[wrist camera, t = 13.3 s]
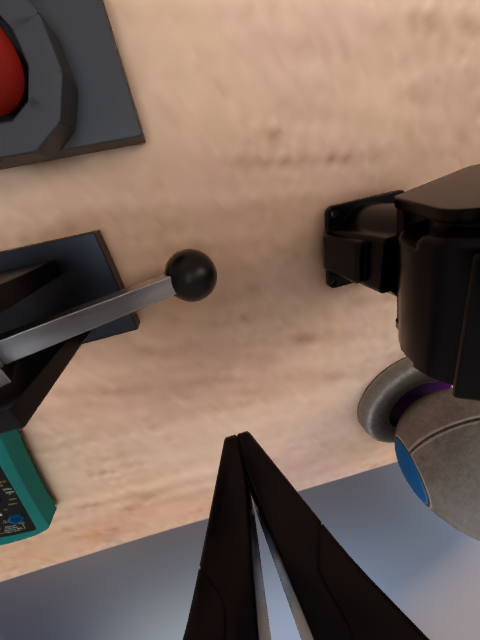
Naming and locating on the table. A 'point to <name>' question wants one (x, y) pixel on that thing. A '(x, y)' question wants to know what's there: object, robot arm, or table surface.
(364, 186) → the table surface
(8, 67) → the red push button
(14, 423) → the lever bracket
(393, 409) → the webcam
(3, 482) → the digital multimeter
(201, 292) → the lever handle
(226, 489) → the robot arm
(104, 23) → the button block
